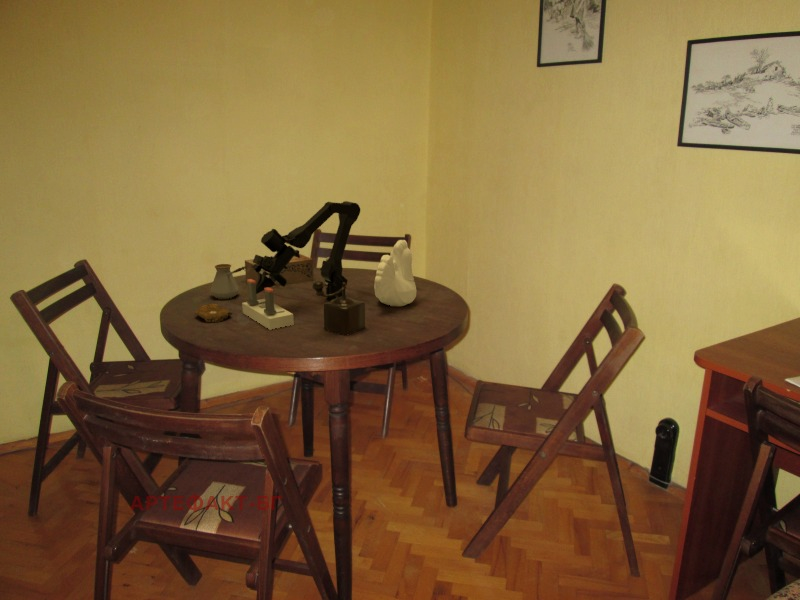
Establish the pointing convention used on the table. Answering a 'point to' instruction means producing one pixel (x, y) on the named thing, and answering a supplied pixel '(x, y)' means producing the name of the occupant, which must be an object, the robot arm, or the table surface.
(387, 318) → the table surface
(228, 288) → the coffee pot
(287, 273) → the tissue box cover
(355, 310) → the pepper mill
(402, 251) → the cream foot sculpture
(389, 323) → the table surface
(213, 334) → the table surface
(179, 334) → the table surface
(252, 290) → the switch
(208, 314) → the decorative rock
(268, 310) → the switch
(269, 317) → the cream lever base
